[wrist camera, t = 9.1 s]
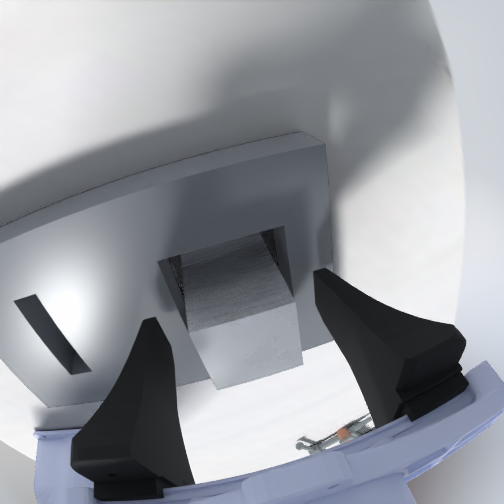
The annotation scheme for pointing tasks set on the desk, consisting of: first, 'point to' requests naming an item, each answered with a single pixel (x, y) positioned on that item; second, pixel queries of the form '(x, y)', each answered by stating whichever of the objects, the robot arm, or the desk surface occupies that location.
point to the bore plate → (153, 261)
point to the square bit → (240, 311)
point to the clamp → (336, 438)
